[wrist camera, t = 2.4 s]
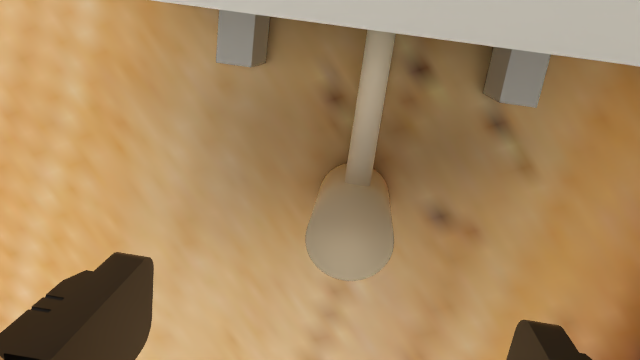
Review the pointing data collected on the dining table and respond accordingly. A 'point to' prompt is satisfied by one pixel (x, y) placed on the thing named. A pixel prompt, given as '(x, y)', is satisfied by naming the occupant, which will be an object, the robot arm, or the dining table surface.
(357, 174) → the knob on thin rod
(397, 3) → the post shelf
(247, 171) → the dining table surface
